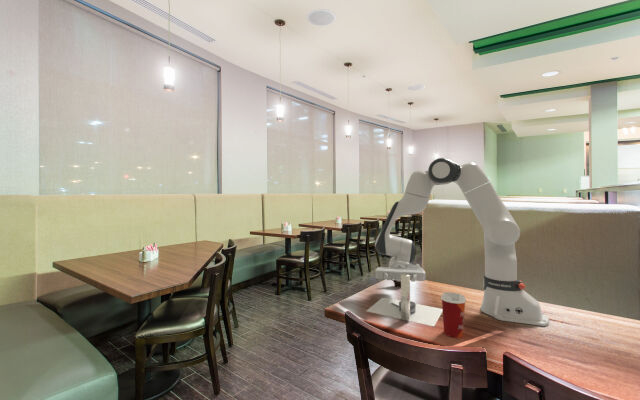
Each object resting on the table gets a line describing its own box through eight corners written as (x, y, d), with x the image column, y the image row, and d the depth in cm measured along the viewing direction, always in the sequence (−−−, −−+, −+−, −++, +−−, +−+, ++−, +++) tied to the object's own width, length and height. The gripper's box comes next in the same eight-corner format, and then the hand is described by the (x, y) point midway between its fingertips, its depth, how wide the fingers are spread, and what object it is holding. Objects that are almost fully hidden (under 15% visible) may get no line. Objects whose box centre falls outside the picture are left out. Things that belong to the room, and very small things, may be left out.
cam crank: (400, 301, 125) (400, 263, 125) (416, 303, 123) (416, 264, 123) (396, 320, 106) (396, 275, 106) (414, 323, 104) (414, 276, 104)
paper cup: (469, 343, 92) (469, 300, 92) (443, 341, 94) (443, 298, 93) (462, 332, 100) (462, 292, 100) (438, 330, 101) (438, 290, 101)
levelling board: (443, 312, 118) (443, 308, 118) (434, 329, 102) (434, 325, 102) (382, 300, 132) (382, 296, 132) (365, 314, 116) (365, 310, 116)
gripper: (375, 262, 130) (374, 269, 117) (422, 264, 126) (427, 272, 112) (375, 276, 130) (374, 285, 117) (422, 278, 126) (427, 288, 112)
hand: (400, 279), depth 115 cm, fingers open, 8 cm apart
